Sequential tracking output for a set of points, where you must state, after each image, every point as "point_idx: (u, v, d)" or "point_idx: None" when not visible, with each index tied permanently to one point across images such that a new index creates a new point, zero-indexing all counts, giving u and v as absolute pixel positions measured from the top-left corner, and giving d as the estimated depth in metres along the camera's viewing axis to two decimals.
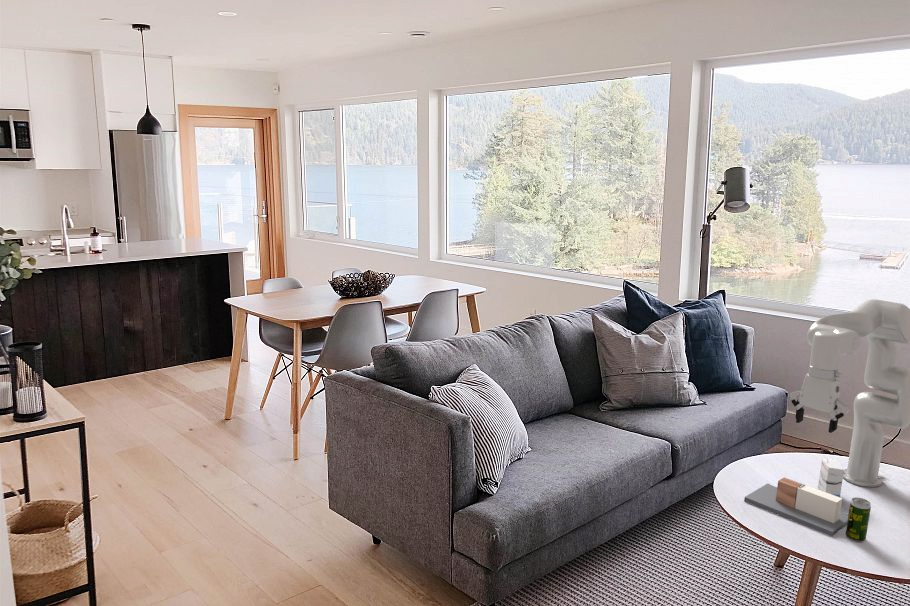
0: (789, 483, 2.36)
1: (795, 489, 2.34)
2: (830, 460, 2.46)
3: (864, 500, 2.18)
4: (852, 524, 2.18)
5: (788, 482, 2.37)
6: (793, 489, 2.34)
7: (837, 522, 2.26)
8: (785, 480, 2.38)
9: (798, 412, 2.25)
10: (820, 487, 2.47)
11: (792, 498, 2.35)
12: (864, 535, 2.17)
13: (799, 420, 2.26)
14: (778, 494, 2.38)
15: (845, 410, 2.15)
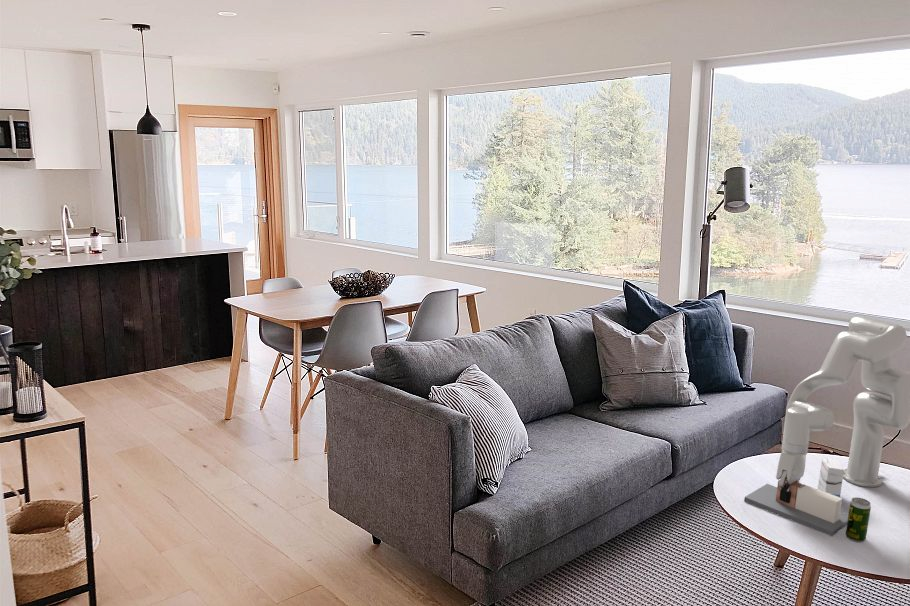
0: None
1: (795, 489, 2.34)
2: (830, 460, 2.46)
3: (864, 500, 2.18)
4: (852, 524, 2.18)
5: None
6: (793, 489, 2.34)
7: (837, 522, 2.26)
8: None
9: (790, 493, 2.35)
10: (820, 487, 2.47)
11: (792, 498, 2.35)
12: (864, 535, 2.17)
13: None
14: (778, 494, 2.38)
15: None
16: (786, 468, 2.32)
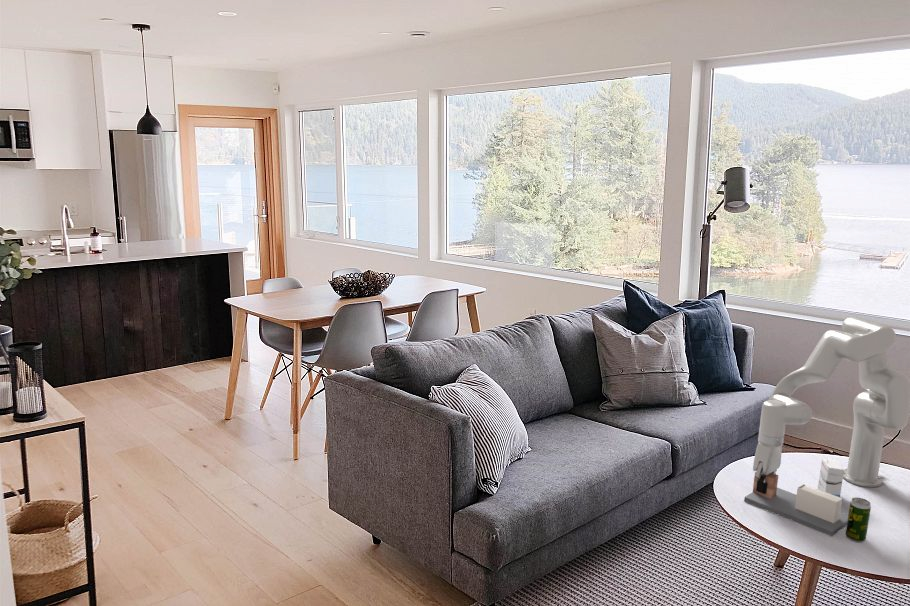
0: None
1: (771, 480, 2.39)
2: (830, 460, 2.46)
3: (864, 500, 2.18)
4: (852, 524, 2.18)
5: None
6: (769, 480, 2.40)
7: (837, 522, 2.26)
8: None
9: (766, 484, 2.40)
10: (820, 487, 2.47)
11: (768, 489, 2.41)
12: (864, 535, 2.17)
13: None
14: (755, 486, 2.44)
15: None
16: (762, 460, 2.38)
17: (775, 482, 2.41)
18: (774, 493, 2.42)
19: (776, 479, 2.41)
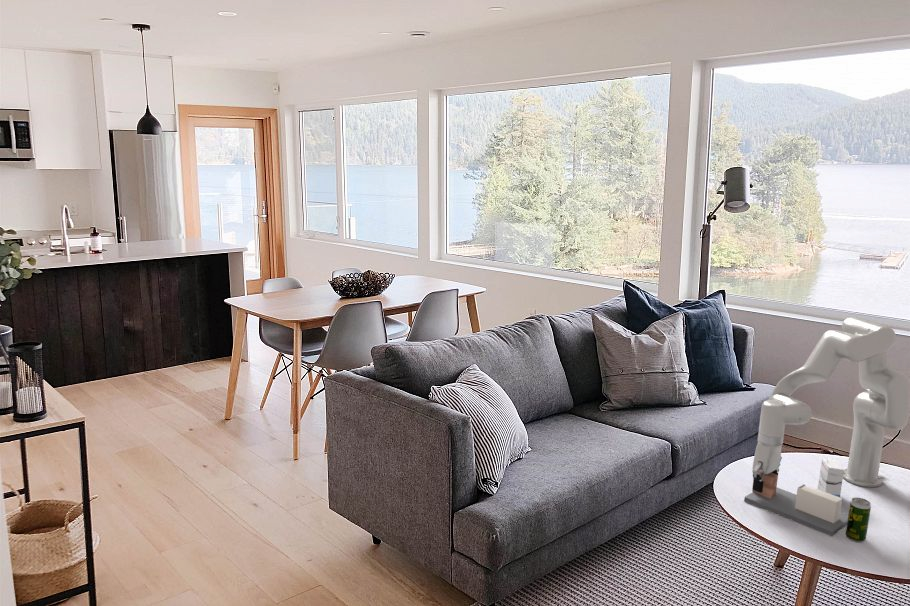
0: None
1: (771, 480, 2.40)
2: (830, 460, 2.46)
3: (864, 500, 2.18)
4: (852, 524, 2.18)
5: None
6: (769, 480, 2.40)
7: (837, 522, 2.26)
8: None
9: (763, 483, 2.39)
10: (820, 487, 2.47)
11: (768, 489, 2.41)
12: (864, 535, 2.17)
13: None
14: None
15: (780, 459, 2.47)
16: (762, 459, 2.38)
17: (775, 482, 2.41)
18: (774, 493, 2.42)
19: (775, 479, 2.41)
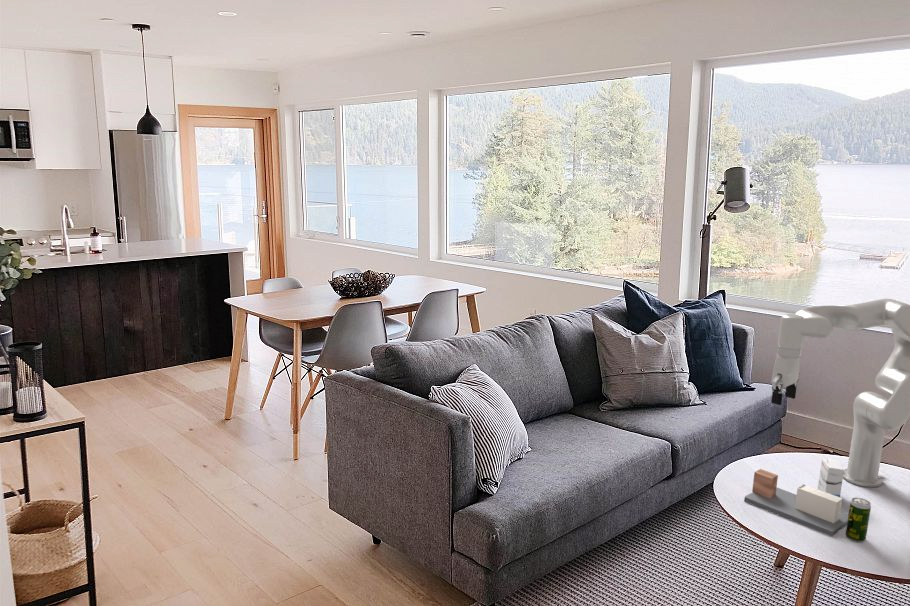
0: (765, 474, 2.42)
1: (771, 480, 2.40)
2: (830, 460, 2.46)
3: (864, 500, 2.18)
4: (852, 524, 2.18)
5: (764, 473, 2.43)
6: (769, 480, 2.40)
7: (837, 522, 2.26)
8: (761, 471, 2.44)
9: (782, 395, 2.42)
10: (820, 487, 2.47)
11: (768, 489, 2.41)
12: (864, 535, 2.17)
13: None
14: (755, 485, 2.44)
15: (798, 374, 2.50)
16: (781, 372, 2.41)
17: (775, 482, 2.41)
18: (774, 493, 2.42)
19: (775, 479, 2.41)
